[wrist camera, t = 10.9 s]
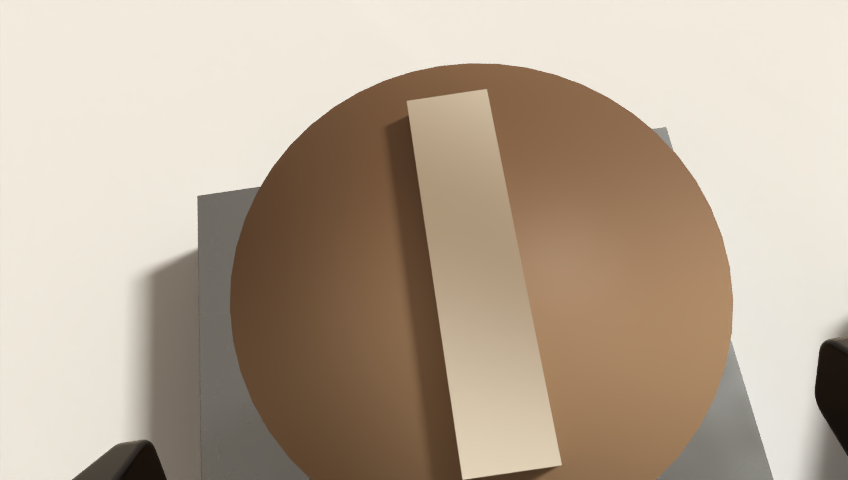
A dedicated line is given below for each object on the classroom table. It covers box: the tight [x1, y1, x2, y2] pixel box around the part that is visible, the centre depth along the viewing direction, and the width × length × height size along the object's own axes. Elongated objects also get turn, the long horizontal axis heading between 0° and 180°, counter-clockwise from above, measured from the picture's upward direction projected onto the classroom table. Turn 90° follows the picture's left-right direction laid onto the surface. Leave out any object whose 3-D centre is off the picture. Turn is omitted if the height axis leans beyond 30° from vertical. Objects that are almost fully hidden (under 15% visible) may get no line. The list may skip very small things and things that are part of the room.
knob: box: [230, 64, 733, 480], centre depth 13 cm, size 5×5×13 cm
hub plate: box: [197, 127, 773, 480], centre depth 19 cm, size 14×14×3 cm
